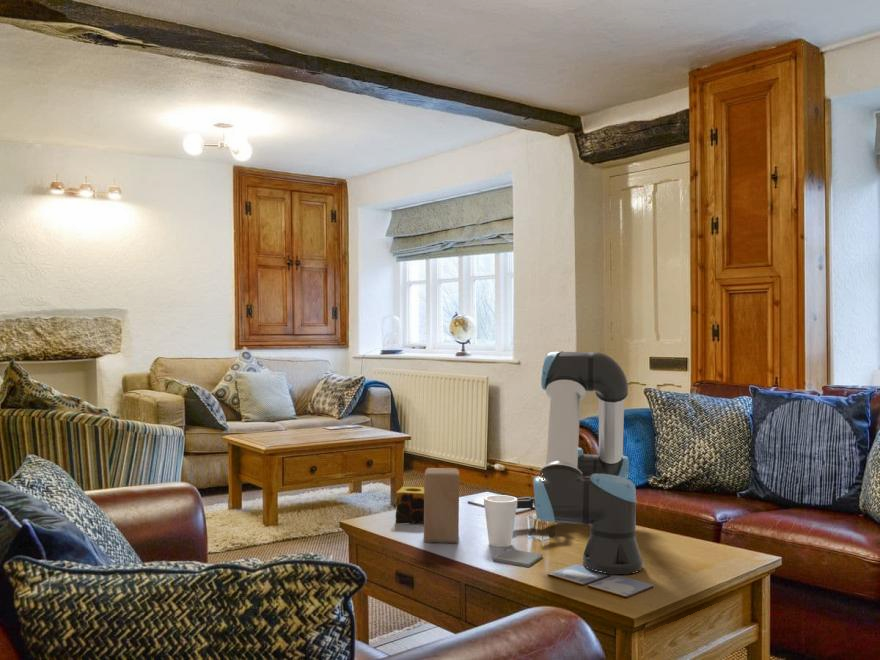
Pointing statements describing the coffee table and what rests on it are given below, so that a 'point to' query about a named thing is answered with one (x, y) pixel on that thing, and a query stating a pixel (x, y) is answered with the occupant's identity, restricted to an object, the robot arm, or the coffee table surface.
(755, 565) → the coffee table surface
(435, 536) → the block
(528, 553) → the slate coaster
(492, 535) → the foam cup
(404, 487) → the giraffe print tissue box
